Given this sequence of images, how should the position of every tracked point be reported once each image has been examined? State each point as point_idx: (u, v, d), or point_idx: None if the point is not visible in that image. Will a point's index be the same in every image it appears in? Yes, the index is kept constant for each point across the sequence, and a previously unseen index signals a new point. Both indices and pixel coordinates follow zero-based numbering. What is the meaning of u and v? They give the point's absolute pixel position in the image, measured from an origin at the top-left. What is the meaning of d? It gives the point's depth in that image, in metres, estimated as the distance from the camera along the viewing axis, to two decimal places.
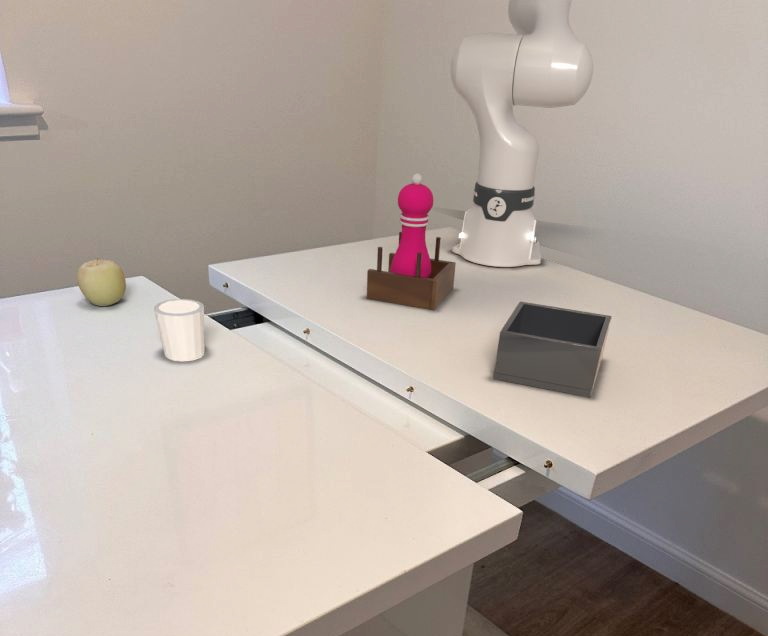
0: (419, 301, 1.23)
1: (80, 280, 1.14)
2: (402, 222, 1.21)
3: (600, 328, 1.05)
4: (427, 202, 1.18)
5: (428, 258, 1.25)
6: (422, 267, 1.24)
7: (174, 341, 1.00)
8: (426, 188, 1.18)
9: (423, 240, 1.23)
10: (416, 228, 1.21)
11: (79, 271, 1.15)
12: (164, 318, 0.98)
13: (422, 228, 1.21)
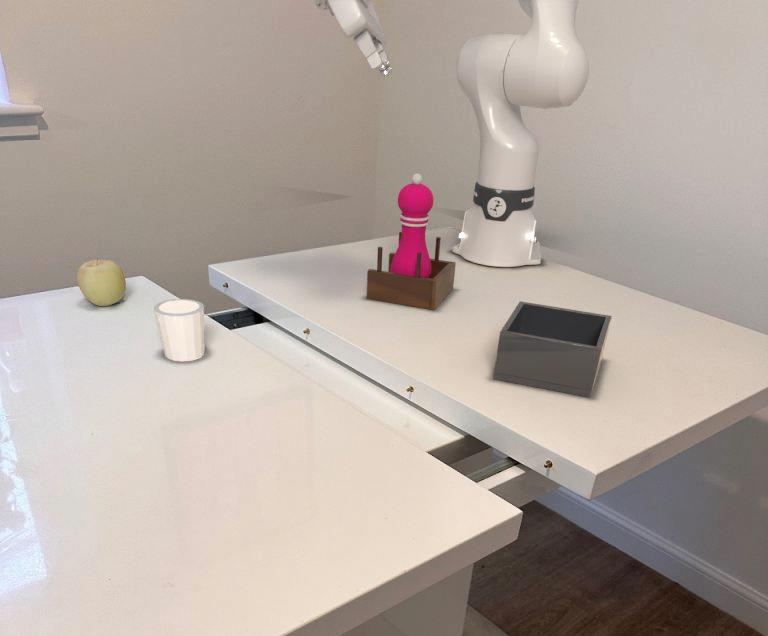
0: (419, 301, 1.23)
1: (80, 280, 1.14)
2: (402, 222, 1.21)
3: (600, 328, 1.05)
4: (427, 202, 1.18)
5: (428, 258, 1.25)
6: (422, 267, 1.24)
7: (174, 341, 1.00)
8: (426, 188, 1.18)
9: (423, 240, 1.23)
10: (416, 228, 1.21)
11: (79, 271, 1.15)
12: (164, 318, 0.98)
13: (422, 228, 1.21)
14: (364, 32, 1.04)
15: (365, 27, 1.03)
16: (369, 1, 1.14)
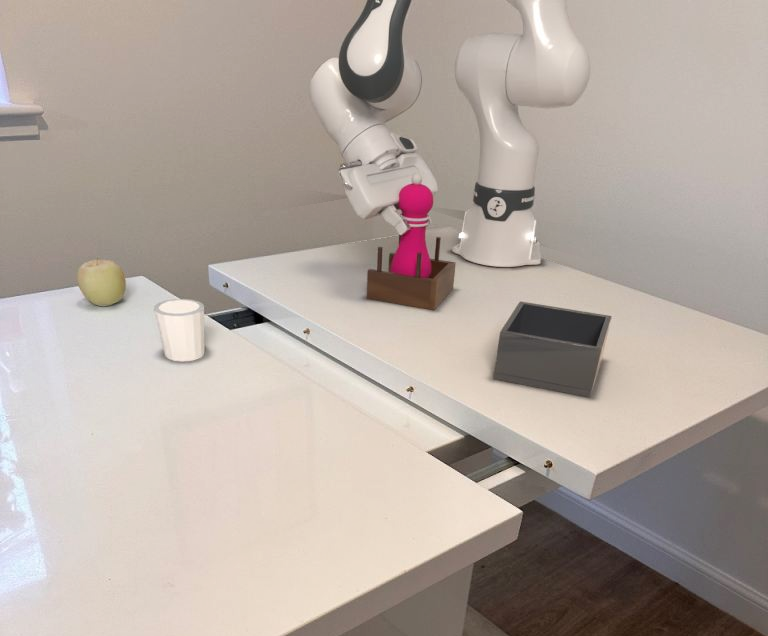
0: (419, 301, 1.23)
1: (80, 280, 1.14)
2: None
3: (600, 328, 1.05)
4: (427, 202, 1.18)
5: (428, 258, 1.25)
6: (422, 267, 1.24)
7: (174, 341, 1.00)
8: (426, 188, 1.18)
9: (423, 240, 1.23)
10: (416, 228, 1.21)
11: (79, 271, 1.15)
12: (164, 318, 0.98)
13: (422, 228, 1.21)
14: (387, 208, 1.18)
15: (379, 208, 1.16)
16: (416, 160, 1.25)
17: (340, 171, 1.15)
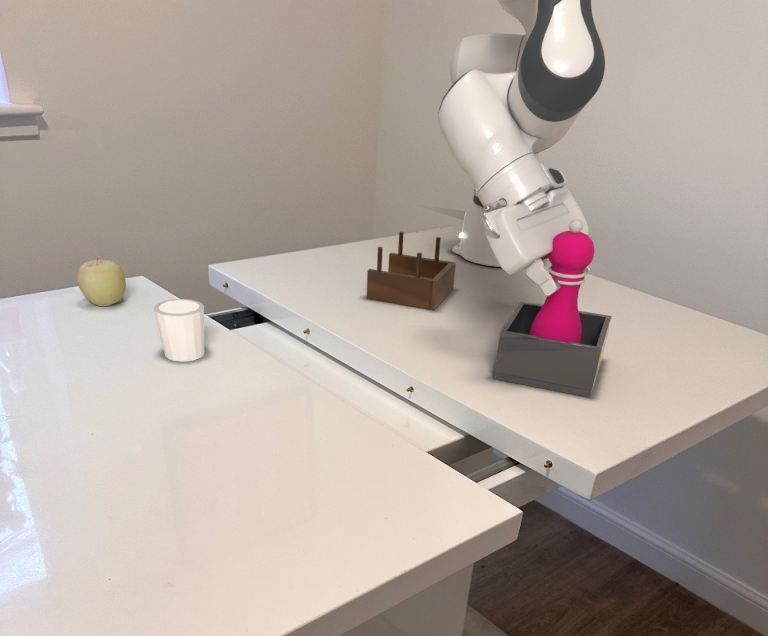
0: (419, 301, 1.23)
1: (80, 280, 1.14)
2: None
3: (600, 328, 1.05)
4: (589, 256, 0.93)
5: (580, 322, 1.00)
6: (574, 334, 0.99)
7: (174, 341, 1.00)
8: (587, 237, 0.93)
9: (576, 300, 0.98)
10: (571, 286, 0.96)
11: (79, 271, 1.15)
12: (164, 318, 0.98)
13: (577, 286, 0.96)
14: (534, 263, 0.92)
15: (532, 261, 0.91)
16: (565, 196, 1.00)
17: (485, 215, 0.89)
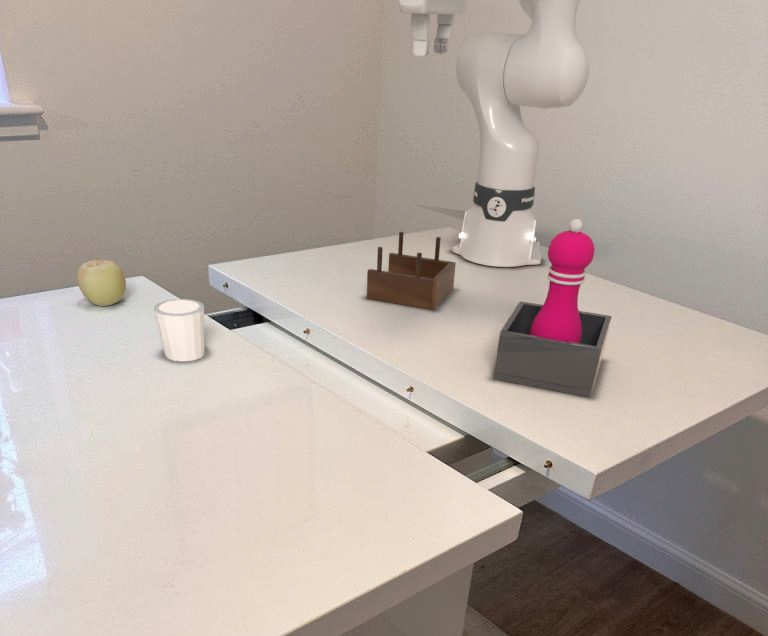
0: (419, 301, 1.23)
1: (80, 280, 1.14)
2: (553, 279, 0.96)
3: (600, 328, 1.05)
4: (589, 255, 0.93)
5: (580, 322, 1.00)
6: (574, 334, 0.99)
7: (174, 341, 1.00)
8: (587, 237, 0.93)
9: (576, 300, 0.98)
10: (571, 286, 0.96)
11: (79, 271, 1.15)
12: (164, 318, 0.98)
13: (577, 286, 0.96)
14: (423, 15, 0.91)
15: None
16: None
17: None
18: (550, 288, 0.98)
